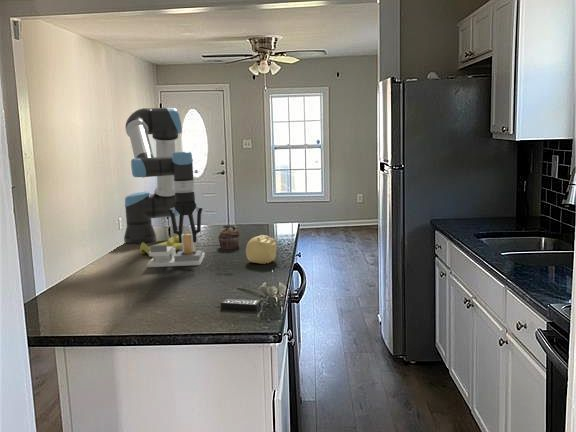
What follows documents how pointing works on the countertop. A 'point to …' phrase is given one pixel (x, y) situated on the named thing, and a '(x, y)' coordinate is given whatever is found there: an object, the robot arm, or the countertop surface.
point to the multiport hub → (240, 305)
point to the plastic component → (171, 242)
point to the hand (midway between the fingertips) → (188, 250)
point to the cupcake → (229, 237)
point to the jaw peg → (187, 244)
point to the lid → (160, 250)
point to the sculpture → (261, 249)
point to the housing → (177, 259)
